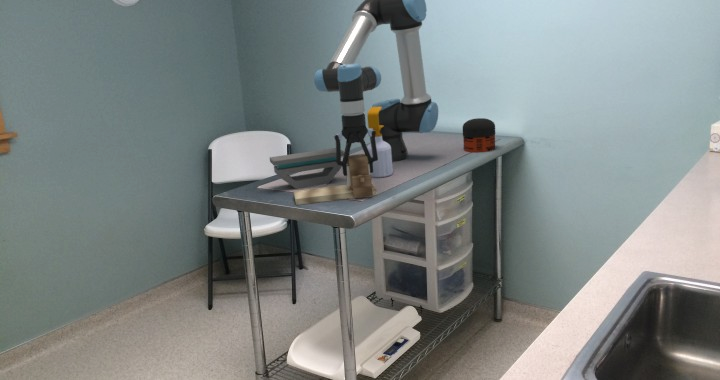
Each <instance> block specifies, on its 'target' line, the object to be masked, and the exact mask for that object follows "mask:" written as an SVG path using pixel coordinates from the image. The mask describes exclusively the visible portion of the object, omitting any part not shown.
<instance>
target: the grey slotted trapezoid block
mask: <svg viewBox="0 0 720 380" xmlns="http://www.w3.org/2000/svg"><path fill="white" fill-rule="evenodd" d="M344 151H345V150H342V149H341V157H342V156H344ZM269 162H270V164H272V165H273V170H274V172H273V173H275V174H276V176H277V177H279V178H280V179H281V180H283V181H285V183H287V184H289V185H290V186H291V187H293V188H294V189H296V190H299V189H304V188H311V187H317V186H323V185H329V184H330V182H331V181H332V180H333V178H334V177H335V176H336V175H337V174H338V172H339V171H340V170H341V169H342V166H341V165H338V164H337V163H336V147H332V148H325V149H319V150H317V149H316V150H312V151H311V150H310V151H305V152H298V153H292V154H285V155H284V154H283V155H277V156H270V157H269ZM313 170H322V171H319V172H313V173H307V174H300V175H299V174H298V175H292V176H291V175H290V174H294V173H301V172H307V171H313Z"/></svg>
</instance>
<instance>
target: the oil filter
mask: <svg viewBox="0 0 720 380" xmlns="http://www.w3.org/2000/svg"><path fill="white" fill-rule="evenodd" d="M462 137H463V140H462V141H463V151H465V152H468V153H477V154H478V153H488V152H491V151H494V150H496V124H495V122H494V121H493V120H491V119H489V118H485V117H484V118H483V117H481V118H480V117H476V118H470V119H469V120H466V121H465V122H464V123H463V125H462Z"/></svg>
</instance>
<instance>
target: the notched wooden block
mask: <svg viewBox="0 0 720 380" xmlns="http://www.w3.org/2000/svg"><path fill="white" fill-rule="evenodd" d="M347 165H348V166H349V172H350V183H351V186H350V188H351V189H352V190H353V195H354V198H353V199H356V198H357V199H358V198H365V197H366V198H367V197H373V196H374V195H373V192H372V184H373V181H372V177H371V175H369V170H368V157H367V156H366V155H365V153H358V154H351V155H350V154H349V157H348V161H347Z"/></svg>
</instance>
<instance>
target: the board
mask: <svg viewBox="0 0 720 380" xmlns="http://www.w3.org/2000/svg"><path fill="white" fill-rule="evenodd" d="M372 192H373V196H377V188H376V186H374V184H373V183H372ZM293 197H294V201H295V206H299V205H309V204H315V203H324V202H332V201H333V202H334V201H339V200H347V198H349V199H354V198H353V197H354V195H353V190H352V189H351V188H350V186H348V185H347V184H342V185H340V184H339V185H334V186H325V187H317V188H310V189H309V188H308V189H302V190H294V191H293Z"/></svg>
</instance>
